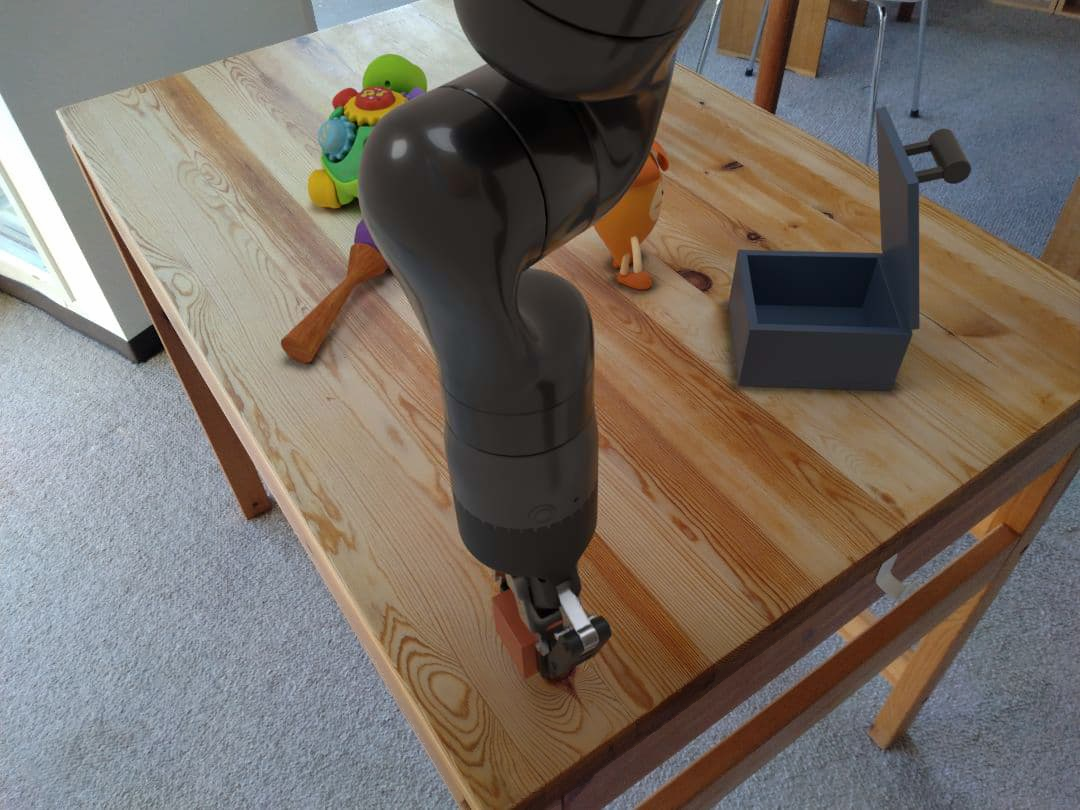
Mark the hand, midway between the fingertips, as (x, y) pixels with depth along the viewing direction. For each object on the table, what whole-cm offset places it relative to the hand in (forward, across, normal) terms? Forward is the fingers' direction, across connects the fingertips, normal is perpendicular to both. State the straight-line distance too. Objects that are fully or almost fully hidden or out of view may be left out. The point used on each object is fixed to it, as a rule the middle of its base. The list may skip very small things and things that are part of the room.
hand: (536, 638), depth 55 cm
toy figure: (+5, +35, -29) cm, 46 cm away
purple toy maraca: (+4, +45, -3) cm, 46 cm away
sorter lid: (-9, +14, -42) cm, 45 cm away
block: (0, 0, 0) cm, 0 cm away
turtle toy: (+4, +66, -16) cm, 68 cm away
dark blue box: (+5, +17, -38) cm, 42 cm away
